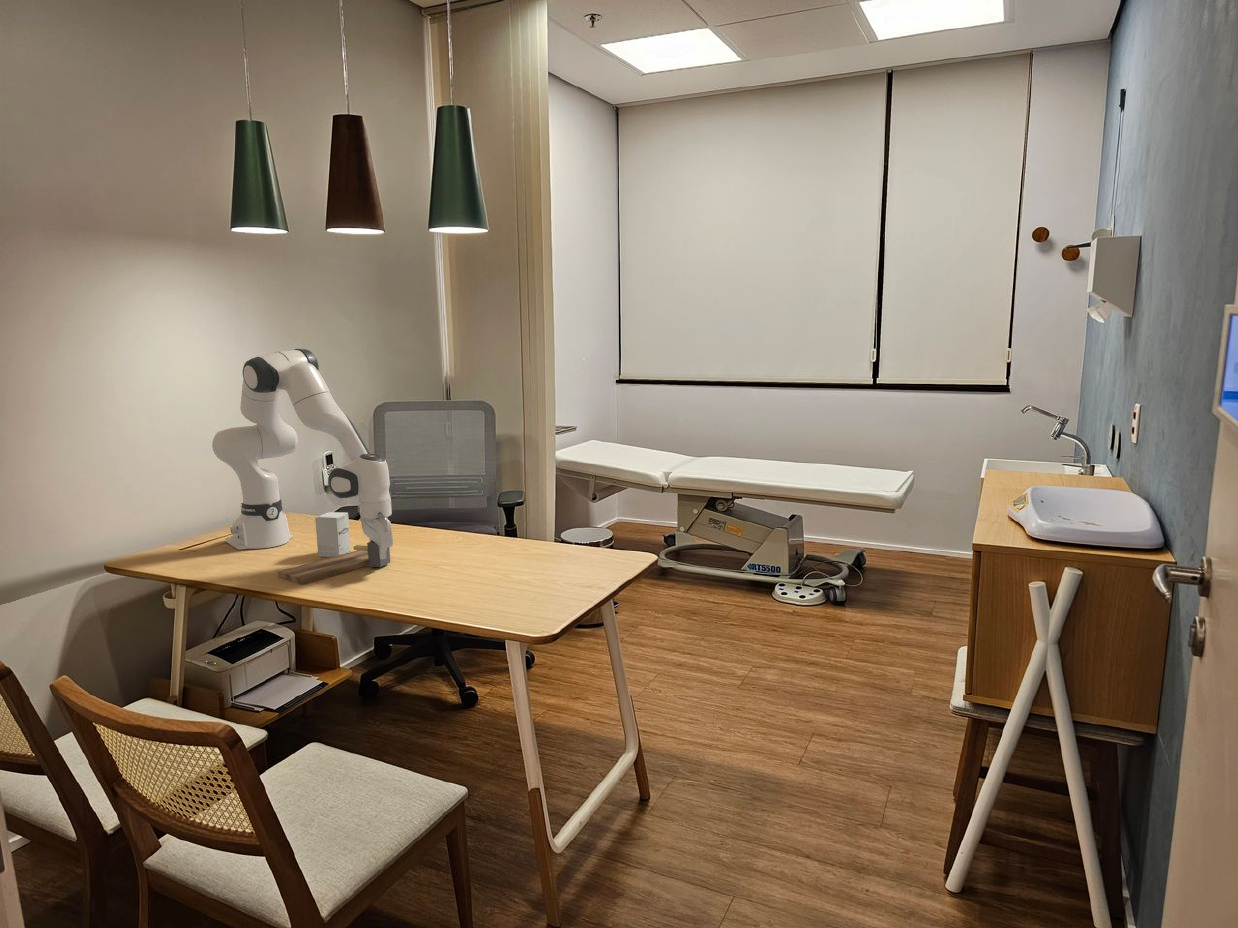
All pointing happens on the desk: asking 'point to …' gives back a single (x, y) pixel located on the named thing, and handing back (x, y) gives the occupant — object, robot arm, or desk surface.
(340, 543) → the supplement box
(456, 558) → the desk surface
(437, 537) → the desk surface
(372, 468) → the robot arm
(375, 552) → the gray-headed mallet
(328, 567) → the plank
